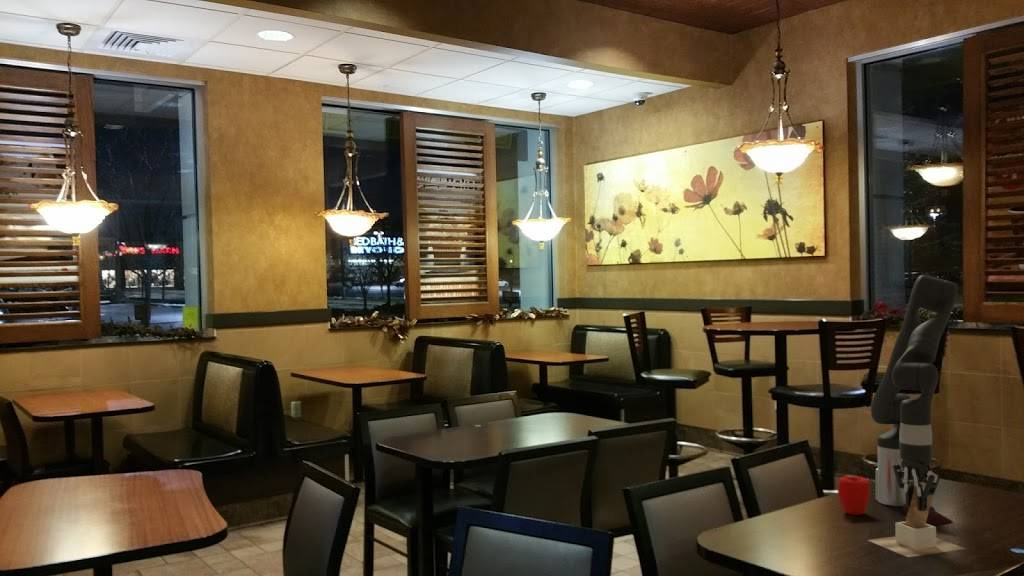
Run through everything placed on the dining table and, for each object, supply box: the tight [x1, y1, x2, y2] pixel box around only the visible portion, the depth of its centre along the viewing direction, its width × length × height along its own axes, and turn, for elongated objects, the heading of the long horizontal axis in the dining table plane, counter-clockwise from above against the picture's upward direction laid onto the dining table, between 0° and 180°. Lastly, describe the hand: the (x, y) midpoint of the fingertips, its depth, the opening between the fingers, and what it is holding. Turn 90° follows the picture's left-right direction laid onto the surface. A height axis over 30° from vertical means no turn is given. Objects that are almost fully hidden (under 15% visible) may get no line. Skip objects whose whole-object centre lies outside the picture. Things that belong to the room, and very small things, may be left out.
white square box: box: [894, 521, 937, 550], centre depth 215 cm, size 7×7×5 cm
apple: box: [837, 475, 871, 516], centre depth 246 cm, size 9×9×11 cm
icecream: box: [901, 504, 954, 528], centre depth 230 cm, size 7×7×15 cm
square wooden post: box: [905, 487, 934, 529], centre depth 215 cm, size 3×3×12 cm
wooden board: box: [867, 536, 966, 558], centre depth 215 cm, size 14×18×1 cm
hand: (916, 508), depth 215 cm, fingers closed on square wooden post, 3 cm apart
